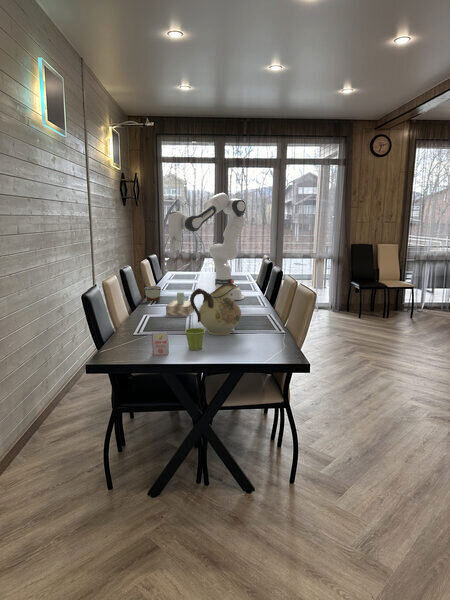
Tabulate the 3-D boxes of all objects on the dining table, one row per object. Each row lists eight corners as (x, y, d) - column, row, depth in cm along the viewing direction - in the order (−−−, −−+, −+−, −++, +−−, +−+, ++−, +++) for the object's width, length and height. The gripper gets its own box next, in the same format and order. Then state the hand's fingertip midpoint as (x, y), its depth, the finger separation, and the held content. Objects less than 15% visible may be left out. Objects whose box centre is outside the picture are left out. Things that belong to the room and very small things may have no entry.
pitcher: (248, 329, 226) (248, 283, 221) (228, 341, 206) (227, 291, 200) (212, 324, 236) (211, 280, 231) (189, 335, 216) (187, 288, 211)
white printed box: (154, 352, 190) (153, 331, 188) (168, 352, 190) (168, 331, 188) (152, 355, 187) (151, 334, 184) (167, 355, 187) (167, 333, 184)
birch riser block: (194, 310, 272) (194, 301, 270) (188, 316, 256) (188, 306, 255) (173, 309, 274) (172, 300, 273) (166, 315, 258) (165, 306, 257)
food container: (163, 299, 301) (163, 286, 299) (161, 301, 295) (161, 287, 293) (147, 299, 302) (146, 285, 300) (144, 301, 297) (143, 287, 294)
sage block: (184, 302, 266) (184, 291, 264) (183, 304, 262) (183, 293, 260) (178, 302, 266) (177, 291, 264) (177, 304, 262) (176, 293, 260)
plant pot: (181, 350, 193) (180, 332, 191) (191, 344, 202) (190, 326, 200) (199, 352, 189) (199, 334, 188) (208, 346, 198) (208, 329, 196)
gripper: (176, 237, 268) (177, 258, 271) (183, 234, 287) (183, 255, 290) (167, 237, 268) (168, 258, 271) (173, 235, 288) (174, 255, 291)
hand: (176, 256), depth 281 cm, fingers open, 8 cm apart
